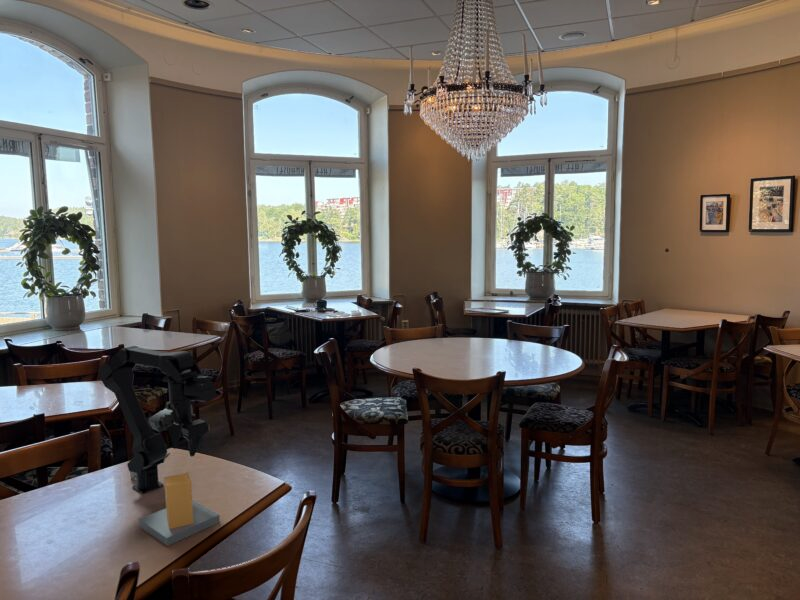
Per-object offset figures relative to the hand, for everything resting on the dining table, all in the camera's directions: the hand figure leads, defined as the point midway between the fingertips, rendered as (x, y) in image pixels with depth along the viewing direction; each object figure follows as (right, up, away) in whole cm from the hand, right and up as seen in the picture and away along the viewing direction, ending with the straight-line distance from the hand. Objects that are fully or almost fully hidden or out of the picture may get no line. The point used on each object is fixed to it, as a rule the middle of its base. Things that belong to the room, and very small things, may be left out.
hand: (183, 452), depth 153 cm
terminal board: (+4, -15, -14) cm, 20 cm away
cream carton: (+5, -13, -16) cm, 21 cm away
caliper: (-19, -11, +23) cm, 32 cm away
